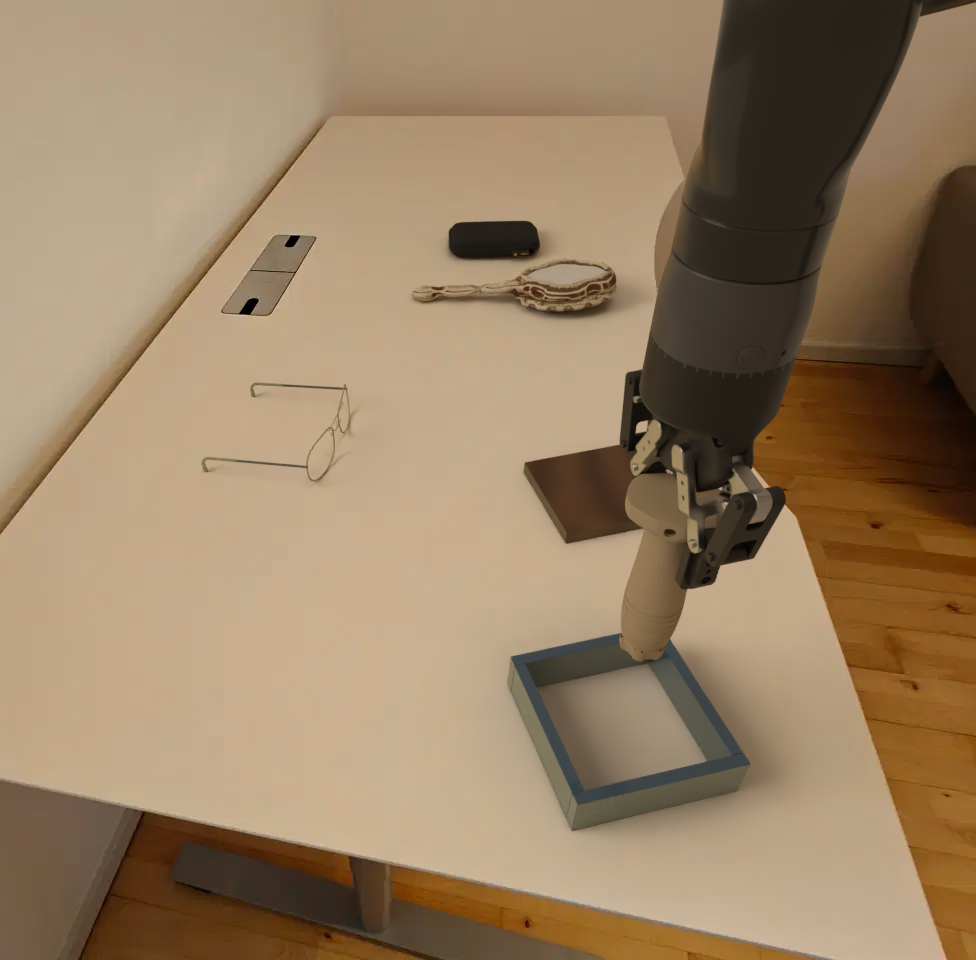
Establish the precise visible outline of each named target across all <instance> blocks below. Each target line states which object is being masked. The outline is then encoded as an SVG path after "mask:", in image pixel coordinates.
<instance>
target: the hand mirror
mask: <svg viewBox="0 0 976 960" xmlns="http://www.w3.org/2000/svg"><path fill="white" fill-rule="evenodd" d="M617 282H618V281H617V275H616V273H615V271H614V270H613V268H611V267H610V266H609V265H608V264H606V263H604V262H601V261H594V260H586V259H577V258H557V259H552V260H549V261H546V262H543V263H540V264H537V265H531V266H528V267H526V268H524V269H522V271H520V274H519V275H518V276H517V277H515V278H513V279H506V280H502V281H498V282H491V283H483V284H481V285H475V284H462V285H461V284H460V285H457V284H456V285H455V284H454V285H453V284H452V285H450V284H449V285H448V284H446V285H442V286H435V285H421V286H417V287H415V288H413V289H412V290H411V297H412V298H413V299H415V300H418V301H422V302H427V301H433V300H435V299H436V298H438V297H440V296H444V297H447V298H458V297H469V296H473V295H475V294H477V295H511V296H513V297H514V298H515V300H516V301H519V302H520V305H521V306H523V307H525V308H533V309H536V310H537V311H541V312H566V311H579V310H583V309H585V308H591V307H595V306H599V305H600V304H601V303H602V302H605V301H609V300H611V299H612V298H613V297H614V296H615V292H616V291H617V290H618V289H617V288H618V287H617Z"/></svg>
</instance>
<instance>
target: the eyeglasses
mask: <svg viewBox="0 0 976 960" xmlns="http://www.w3.org/2000/svg"><path fill="white" fill-rule="evenodd" d="M256 386H263V387H265V386H266V387H280V388H281V387H282V388H283V387H284V388H301V389H302V388H303V389H320V390H321V389H322V390H335V391H336V390H338V391H342V393H341V396H340V400H339V403H338V407H337V413H336V414H335V417H334V419H333V421H332V423H331V425H330V426H328V427H327V428H326V429H324V431H323V432H322V433H321V435H320V436H319V437H318V439H316V441H315V442H314V443H313V445H312V446H311V448H310V449H309V451H308V453H307V456H306V460H305V462H306V463H305V465H303V464H302V465H301V464H290V463H279V462H267V461H258V460H257V461H255V460H243V459H237V458H225V457H215V456H206V457H203V458H202V460H201V467H202V471H203V472H208V467H207V465H206V461H208V460H209V461H218V462H228V463H229V462H230V463H244V464H252V465H253V464H255V465H265V466H278V467H289V468H298V469H299V468H301V469H305V470H306V475H307V479H308V480H309V481H310V482H317V481H319V480H320V479H321V478H322V477H323V476H324V475H325V474H326V473H327V471H328V470H329V468H330V466H331V465H332V462H333V460H334V457H335V452H336V441H335V440H336V439H335V431H337V429H338V428H339V431H340V433H341V434H345V433H346V432H347V431H348V428H349V426H350V420H351V419H350V418H351V411H350V410H351V409H350V401H349V394H348V387H347V385H346V383H344V384H343V386H342V387H339V386H322V385H321V386H319V385H303V384H302V385H301V384H299V385H298V384H285V383H274V382H272V383H271V382H253V383H252V384H251V385H250V387H249V391H250V396H251V397H253V398H255V397H256V393H255V390H254V387H256ZM344 393H345V394H346V401H347V412H348V415H347V416H348V418H347V424H346V428H345V429H344V430H343V429H342V426H341V421H342V418H340V412H341V410H342V408H343V405H344V402H343V398H344ZM336 419H337V420H336ZM334 423H335V425H336V428H335V429H334V428H333V426H334ZM330 431H331V432H330ZM327 432H330V435H332V444H333V445H332V455H331V458H330V460H329V463H328V466H327V467H326V468H325V470H324V471H323V473H322V474H321V475H320V476H318V478H316V479H312V478H311V476H310V473H309V459H310V456H311V453H312V451H313V450H314V448H315V446H316V445H317V444H318V443H319V441H320V440H321V439H322V438H323V436H324V435H325V434H326V433H327Z"/></svg>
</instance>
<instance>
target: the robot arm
mask: <svg viewBox="0 0 976 960" xmlns="http://www.w3.org/2000/svg"><path fill="white" fill-rule="evenodd" d="M971 4H976V0H722V7H721V12H720V20H719V24H718V25H719V26H718V32H717V39H716V45H715V51H714V58H713V64H712V71H711V75H710V81H709V88H708V93H707V101H706V106H705V113H704V119H703V127H702V131H701V138H700V139H701V140H700V143H699V144H698V146H697V147H696V149H695V151H694V153H693V156H692V159H691V161H690V164H689V168H688V171H687V173H686V178H685V183H684V186H683V191H682V194H681V195H682V196H681V198H680V205H679V209H678V215H677V219H676V224H675V229H674V232H673V233H674V234H673V239H672V245H671V247H670V253H669V255H668V258H667V261H666V264H665V266H664V269H663V272H662V275H661V278H660V281H659V284H658V289H657V293H656V297H655V302H654V303H655V304H654V309H653V315H652V318H651V323H650V328H649V334H648V339H647V342H646V343H647V344H646V349H645V354H644V360H643V364H642V368H640V369H637V370H632V371H627V372H626V373H625V378H624V389H623V400H622V411H621V422H620V432H619V445H620V447H621V450H622V451H623V452H624V453H627V452H630V453H631V455H632V457H633V458H632V459H631V462H630V467H631V471H632V473H633V475H634V476H635V477H634V478H636V477H637V476H639V475H641V474H653V473H668V471H669V472H670V473H671V474H674V476H675V478H676V480H677V497H678V510H679V512H680V513H682V514H684V515H686V524H687V542H686V543H685V545H684V549H683V552H682V556H681V560H680V563H679V567H678V570H677V574H676V577H675V581H676V582H677V583H678V585H679V586H680V588H681V589H683V590H687V591H688V590H694V589H699V588H705V587H708V586H713V584H715V583H716V581H717V577H718V575H719V572H720V568H721V567H722V566H726V565H730V564H736V563H739V562H745V561H749V560H753V559H755V557H756V556H757V554H758V552H760V551H759V550H760V549H761V547H762V545H763V544H764V542H765V540H766V538H767V536H768V535H769V534H770V531H771V529H772V528H773V526H774V524H775V523H776V521H777V519H778V517H779V516H780V514H781V512H782V511H783V508H784V506H785V505H786V502H787V499H786V494H785V492H784V490H783V488H782V487H780V486H779V485H774V486H768V487H764V486H763V485H762V482H761V481H760V480H759V479H758V478H757V476H756V475H755V473H754V472H753V467H754V463H755V455H754V454H755V453H754V446H755V440H756V438H757V437H758V436H759V435H760V434H761V433H762V431H763V430H764V429H766V427H767V426H768V425H770V423H772V421H774V419H775V418H776V416H777V415H778V413H779V412H780V408H781V405H782V402H783V399H784V396H785V394H786V390H787V387H788V384H789V381H790V378H791V376H792V373H793V369H794V366H795V364H796V361H797V357H798V355H799V352H800V349H801V346H802V343H803V340H804V337H805V334H806V331H807V328H808V325H809V323H810V319H811V316H812V313H813V309H814V305H815V302H816V298H817V297H816V296H817V292H818V291H817V290H818V283H819V278H820V273H821V269H822V267H823V263H824V260H825V256H826V254H827V250H828V248H829V244H830V242H831V239H832V235H833V232H834V229H835V227H836V222H837V221H838V217H839V214H840V211H841V208H842V204H843V201H844V197H845V193H846V190H847V185H848V180H849V177H850V173H851V170H852V168H853V166H854V164H855V162H856V160H857V158H858V156H859V155H860V153H861V151H862V150H863V147H864V145H865V143H866V142H867V140H868V137H869V136H870V134H871V132H872V130H873V127H874V126H875V124H876V122H877V119H878V118H879V115H880V113H881V112H882V109H883V107H884V105H885V103H886V101H887V99H888V96H889V95H890V93H891V90H892V88H893V86H894V84H895V82H896V80H897V76H898V75H899V72H900V71H901V68H902V66H903V63H904V61H905V59H906V57H907V54H908V51H909V49H910V47H911V43H912V39H913V37H914V34H915V32H916V29H917V27H918V22H919V20H920V18H921V17H925V16H929V15H933V14H937V13H941V12H944V11H949V10H952V9H957V8H959V7H960V8H961V7H963V6H968V5H971ZM643 422H647V424H646V425H647V426H646V431H640V432H637V426H638V424H640V423H643ZM715 489H720V490H721V492H720V493H719V494H718V495H715V496H710V497H705V498H700V499H696V492H705V491H710V490H715ZM712 515H716V521H717V527H716V529H712V530H707V531H705V519H706V518H707V517H708V516H712Z"/></svg>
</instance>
